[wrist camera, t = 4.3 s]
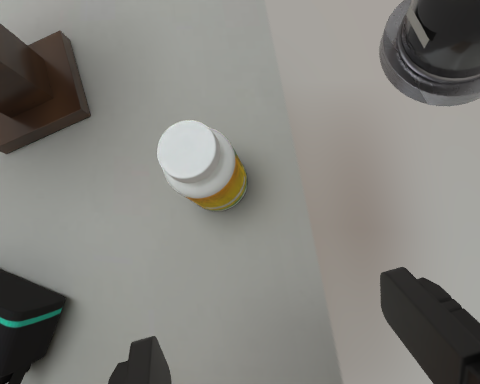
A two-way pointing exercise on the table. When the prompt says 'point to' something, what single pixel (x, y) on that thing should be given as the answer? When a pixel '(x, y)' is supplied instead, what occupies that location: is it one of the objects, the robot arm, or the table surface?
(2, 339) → the virtual reality headset
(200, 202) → the supplement bottle
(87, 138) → the table surface
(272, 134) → the table surface
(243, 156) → the table surface
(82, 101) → the pedestal column
